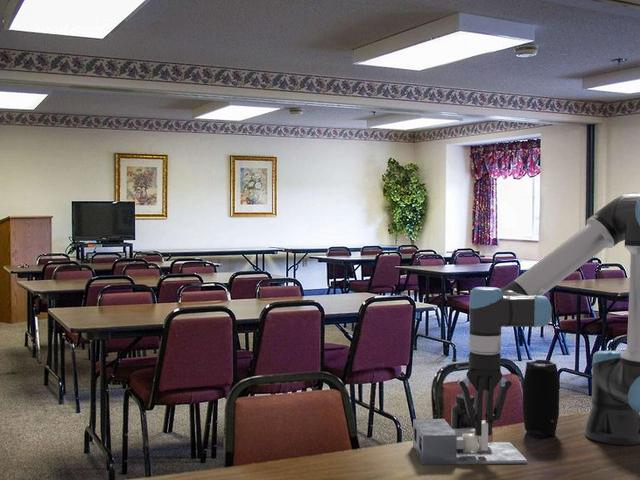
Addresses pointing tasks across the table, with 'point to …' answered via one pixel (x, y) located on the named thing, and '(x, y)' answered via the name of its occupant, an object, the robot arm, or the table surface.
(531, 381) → the portable speaker
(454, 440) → the mount
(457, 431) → the knob terracotta
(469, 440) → the knob cream
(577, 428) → the table surface
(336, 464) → the table surface
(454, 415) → the supplement bottle
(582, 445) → the table surface
